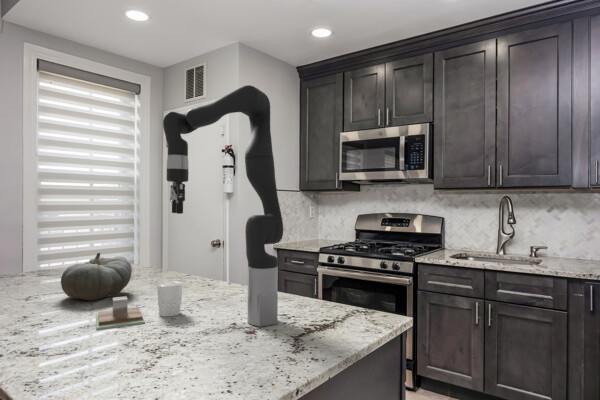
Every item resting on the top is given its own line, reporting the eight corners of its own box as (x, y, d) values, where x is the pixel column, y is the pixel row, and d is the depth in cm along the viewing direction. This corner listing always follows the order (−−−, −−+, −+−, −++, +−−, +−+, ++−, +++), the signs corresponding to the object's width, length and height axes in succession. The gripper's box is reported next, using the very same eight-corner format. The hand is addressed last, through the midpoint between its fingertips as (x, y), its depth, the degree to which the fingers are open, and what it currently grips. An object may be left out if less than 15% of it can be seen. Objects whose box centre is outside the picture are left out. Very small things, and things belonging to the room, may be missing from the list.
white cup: (151, 315, 125) (152, 284, 125) (170, 309, 132) (170, 280, 132) (169, 318, 121) (169, 287, 121) (187, 312, 128) (187, 282, 128)
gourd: (146, 283, 161) (139, 243, 158) (112, 309, 137) (103, 263, 134) (92, 287, 164) (84, 248, 161) (49, 313, 139) (39, 268, 137)
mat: (144, 323, 116) (144, 321, 116) (96, 329, 110) (96, 327, 110) (139, 310, 130) (139, 308, 130) (96, 315, 124) (96, 313, 124)
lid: (142, 319, 118) (142, 300, 118) (98, 325, 112) (99, 305, 112) (138, 310, 128) (138, 292, 128) (98, 315, 122) (98, 296, 122)
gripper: (192, 167, 133) (192, 213, 133) (184, 170, 146) (183, 212, 145) (170, 166, 129) (169, 214, 129) (163, 169, 142) (163, 212, 142)
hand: (177, 213), depth 137 cm, fingers open, 8 cm apart
